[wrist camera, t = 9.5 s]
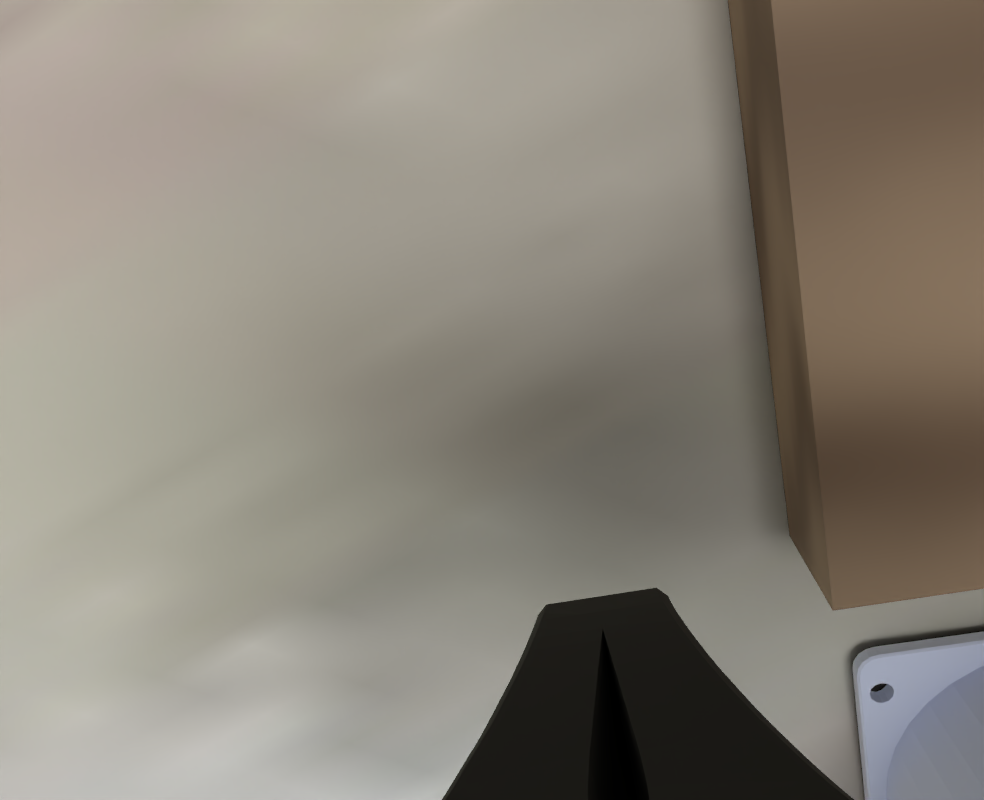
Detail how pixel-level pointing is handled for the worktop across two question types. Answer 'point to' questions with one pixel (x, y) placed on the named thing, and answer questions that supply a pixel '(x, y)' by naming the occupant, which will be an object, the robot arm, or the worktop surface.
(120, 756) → the worktop surface
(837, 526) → the trap deck
